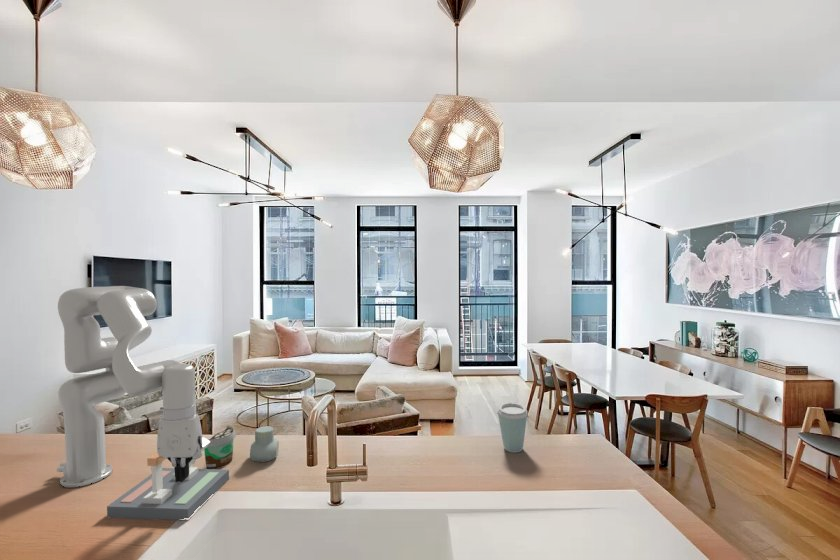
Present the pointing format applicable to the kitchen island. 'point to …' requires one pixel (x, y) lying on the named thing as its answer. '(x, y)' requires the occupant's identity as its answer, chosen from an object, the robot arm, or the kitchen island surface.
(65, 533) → the kitchen island surface
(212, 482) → the switch panel
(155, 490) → the lever
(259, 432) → the air freshener
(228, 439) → the food container
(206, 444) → the lever
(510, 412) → the disposable coffee cup
